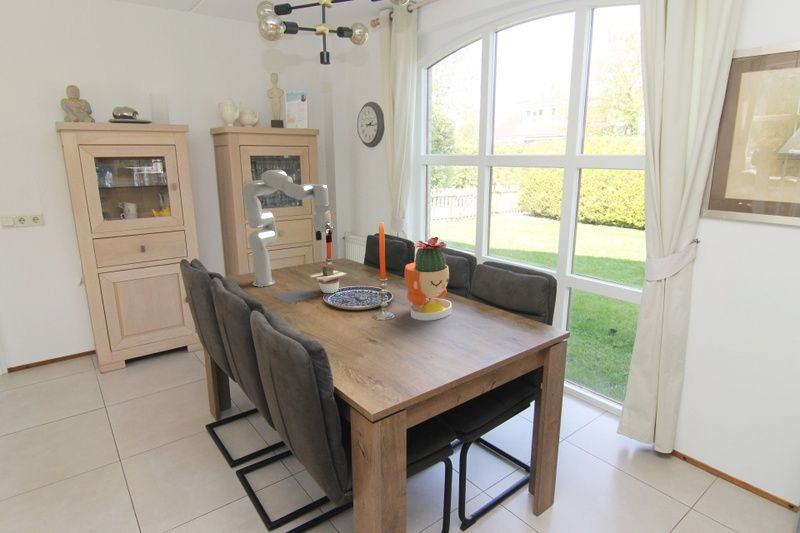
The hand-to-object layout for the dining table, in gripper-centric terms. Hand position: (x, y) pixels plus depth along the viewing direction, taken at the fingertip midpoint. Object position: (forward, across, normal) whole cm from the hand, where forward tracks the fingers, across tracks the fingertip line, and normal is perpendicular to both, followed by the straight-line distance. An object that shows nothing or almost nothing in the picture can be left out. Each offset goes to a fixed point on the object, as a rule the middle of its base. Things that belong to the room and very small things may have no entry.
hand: (324, 241), depth 240 cm
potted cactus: (+28, +60, +16) cm, 68 cm away
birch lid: (+19, +1, +1) cm, 19 cm away
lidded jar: (+29, +1, +1) cm, 29 cm away
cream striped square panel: (+28, -8, -15) cm, 33 cm away
